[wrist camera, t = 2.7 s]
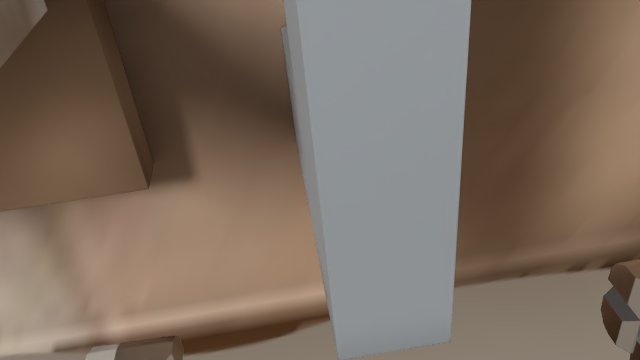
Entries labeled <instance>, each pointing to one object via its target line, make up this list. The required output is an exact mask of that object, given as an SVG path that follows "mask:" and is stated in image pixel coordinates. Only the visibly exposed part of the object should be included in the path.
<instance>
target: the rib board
mask: <svg viewBox="0 0 640 360" xmlns="http://www.w3.org/2000/svg"><path fill="white" fill-rule="evenodd" d="M153 165H154V162H153V159H152V156H151V153H150V150H149V146H148V143H147V140H146V137H145V134H144V130H143V127H142V124H141V121H140V118H139V114H138V111H137V108H136V105H135V102H134V99H133V95H132V92H131V89H130V86H129V83H128V79H127V76H126V73H125V70H124V67H123V63H122V60H121V57H120V54H119V51H118V48H117V44H116V41H115V38H114V35H113V32H112V28H111V25H110V22H109V19H108V16H107V12H106V9H105V6H104V3H103V0H0V211H7V210H14V209H20V208H27V207H33V206H40V205H47V204H53V203H60V202H67V201H73V200H80V199H86V198H93V197H100V196H106V195H113V194H120V193H126V192H133V191H139V190H146V189H149V185H150V180H151V175H152V170H153Z"/></svg>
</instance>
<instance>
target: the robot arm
mask: <svg viewBox="0 0 640 360" xmlns="http://www.w3.org/2000/svg"><path fill="white" fill-rule="evenodd" d="M608 279H609V281H610V282H611V283H612V285H613V287H612V288H611V289H610V290H609V291H608V292H607V293H606V294H605V295H604V296H603V301H602V306H601V312H602V317H603V323H604V325H605V328H606V330H607V332H608V334H609V336H610V337H611V339H612V340H613V342H614V343H615V345H617V346H619V347H620V348H622V349H624V350H626V351H628V352H629V353H631V354H630V360H640V259H639V260H634V261H628V262H622V263H616V264H615V265H614V266H613V267H612V268H611V270H610V274H609V277H608ZM182 359H183V346H182V343H181V341H180V338H179V336H168V337H161V338H153V339H146V340H139V341H131V342H124V343H120V344H113V345H105V346H98V347H92V349H91V350H90V352H89V353H88V355H87V357H86V360H182Z"/></svg>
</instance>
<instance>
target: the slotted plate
mask: <svg viewBox="0 0 640 360" xmlns="http://www.w3.org/2000/svg"><path fill="white" fill-rule="evenodd" d="M283 1H284V9H285V16H286V24H287V27H281V33H282V40H283V48H284V55H285V62H286V70H287V77H288V84H289V92H290V99H291V106H292V114H293V121H294V128H295V136H296V143H297V148H298V153H299V158H300V163H301V169H302V174H303V179H304V184H305V190H306V195H307V200H308V205H309V210H310V216H311V221H312V226H313V231H314V236H315V242H316V247H317V252H318V257H319V262H320V268H321V273H322V278H323V283H324V289H325V294H326V299H327V304H328V309H329V315H330V320H331V325H332V330H333V335H334V341H335V346H336V351H337V356H338V360H346V359H352V358H358V357H364V356H370V355H376V354H381V353H387V352H393V351H399V350H405V349H411V348H417V347H423V346H428V345H434V344H440V343H446V342H450V341H451V325H452V309H453V308H452V307H453V293H454V276H455V260H456V243H457V227H458V210H459V194H460V178H461V161H462V145H463V128H464V112H465V95H466V79H467V63H468V46H469V30H470V13H471V0H283Z"/></svg>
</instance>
